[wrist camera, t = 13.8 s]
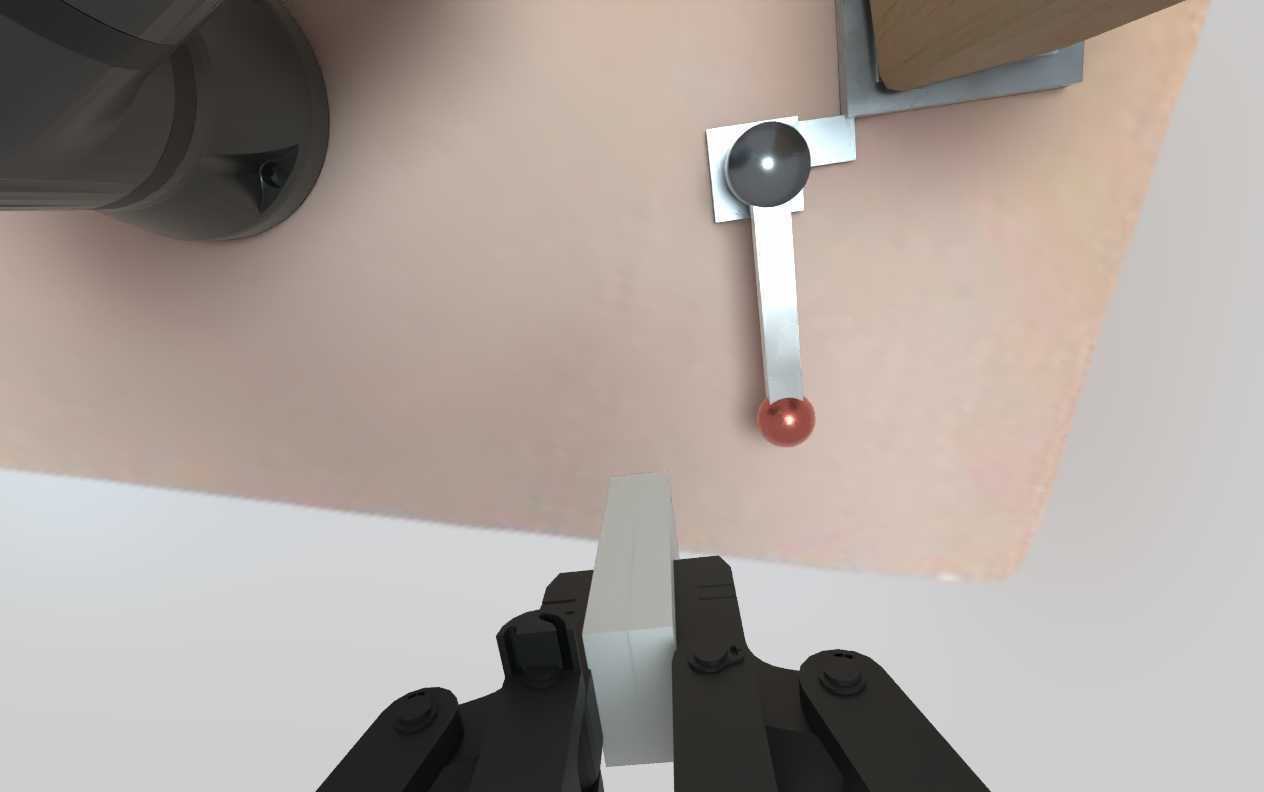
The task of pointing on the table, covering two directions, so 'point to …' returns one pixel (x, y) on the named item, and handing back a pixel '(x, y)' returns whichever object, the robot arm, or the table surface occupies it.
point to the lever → (775, 268)
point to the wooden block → (985, 33)
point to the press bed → (884, 100)
